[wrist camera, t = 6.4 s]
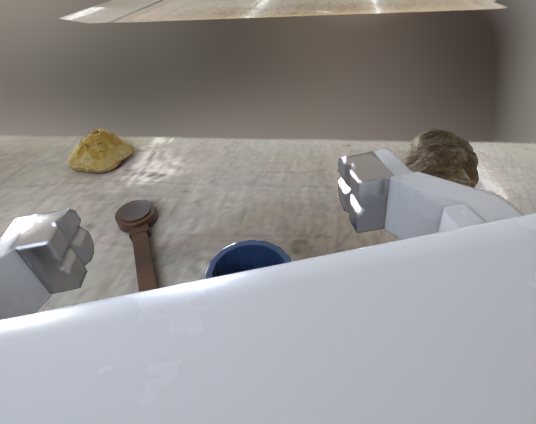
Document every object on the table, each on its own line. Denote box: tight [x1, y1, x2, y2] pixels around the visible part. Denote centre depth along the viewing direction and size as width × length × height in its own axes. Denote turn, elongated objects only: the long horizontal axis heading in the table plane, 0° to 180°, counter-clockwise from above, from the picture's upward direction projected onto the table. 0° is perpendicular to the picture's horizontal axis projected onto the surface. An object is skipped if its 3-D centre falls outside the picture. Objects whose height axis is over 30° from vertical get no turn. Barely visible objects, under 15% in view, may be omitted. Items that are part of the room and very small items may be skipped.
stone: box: [403, 129, 479, 188], centre depth 46 cm, size 13×8×8 cm
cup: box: [205, 240, 291, 279], centre depth 28 cm, size 6×6×10 cm
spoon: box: [115, 200, 158, 292], centre depth 40 cm, size 19×5×2 cm, turn 22°
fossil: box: [68, 128, 134, 173], centre depth 57 cm, size 11×6×10 cm
